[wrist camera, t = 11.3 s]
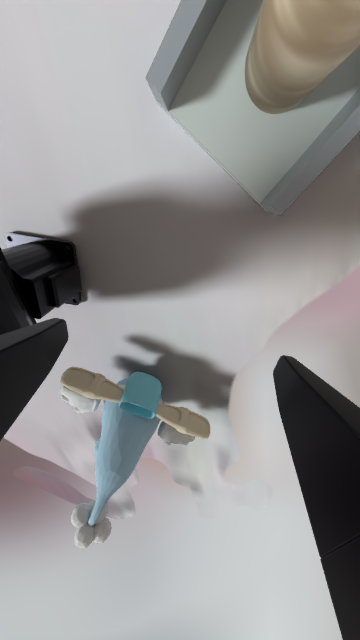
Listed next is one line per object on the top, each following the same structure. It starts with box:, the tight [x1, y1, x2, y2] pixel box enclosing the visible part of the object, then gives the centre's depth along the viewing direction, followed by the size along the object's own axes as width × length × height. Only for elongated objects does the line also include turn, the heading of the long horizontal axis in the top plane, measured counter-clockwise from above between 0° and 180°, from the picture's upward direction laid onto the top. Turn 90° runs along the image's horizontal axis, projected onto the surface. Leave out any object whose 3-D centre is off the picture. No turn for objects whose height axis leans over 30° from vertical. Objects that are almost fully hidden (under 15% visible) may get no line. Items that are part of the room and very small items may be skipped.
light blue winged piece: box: [60, 367, 210, 548], centre depth 23 cm, size 17×10×15 cm, turn 64°
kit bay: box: [146, 0, 360, 215], centre depth 12 cm, size 11×12×4 cm
